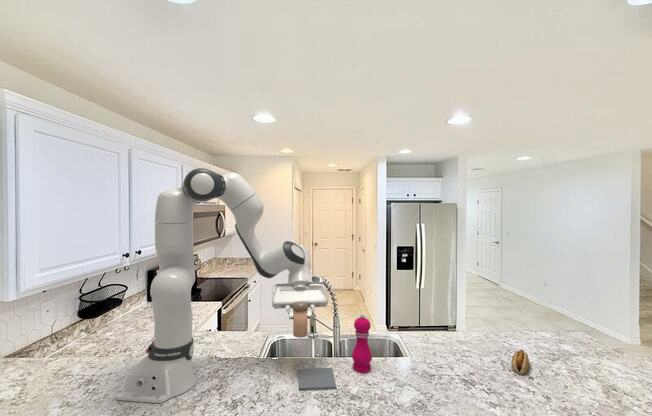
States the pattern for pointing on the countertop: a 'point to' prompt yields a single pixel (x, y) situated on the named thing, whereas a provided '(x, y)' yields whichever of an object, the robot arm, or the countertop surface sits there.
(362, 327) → the pepper mill
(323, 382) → the pad
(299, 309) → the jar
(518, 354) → the food
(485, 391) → the countertop surface
